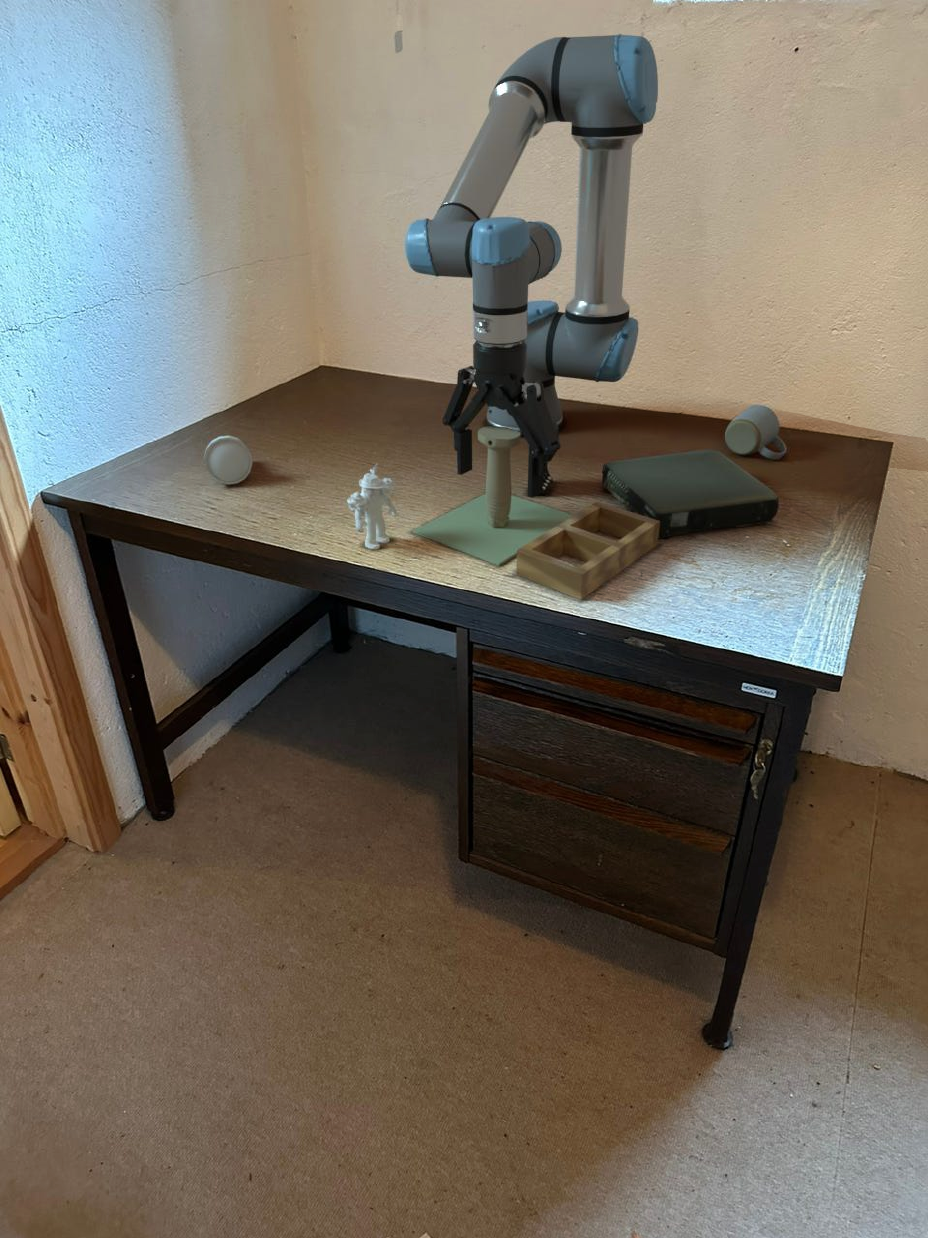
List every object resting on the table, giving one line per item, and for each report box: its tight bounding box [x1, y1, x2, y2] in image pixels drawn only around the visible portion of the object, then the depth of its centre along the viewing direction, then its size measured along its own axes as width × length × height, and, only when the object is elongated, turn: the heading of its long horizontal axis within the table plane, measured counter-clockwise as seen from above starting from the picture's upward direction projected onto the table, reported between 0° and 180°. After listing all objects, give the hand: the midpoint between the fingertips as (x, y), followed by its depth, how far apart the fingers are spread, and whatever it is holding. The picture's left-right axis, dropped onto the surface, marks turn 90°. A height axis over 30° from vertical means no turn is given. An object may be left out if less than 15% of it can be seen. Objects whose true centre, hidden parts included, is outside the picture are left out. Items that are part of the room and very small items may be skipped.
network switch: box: [601, 448, 780, 539], centre depth 138 cm, size 23×24×5 cm
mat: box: [412, 492, 575, 567], centre depth 134 cm, size 20×17×1 cm
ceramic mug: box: [724, 404, 788, 461], centre depth 156 cm, size 11×8×8 cm
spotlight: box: [203, 435, 253, 486], centre depth 152 cm, size 8×11×8 cm
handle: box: [477, 425, 521, 528], centre depth 130 cm, size 5×6×15 cm
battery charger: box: [528, 422, 560, 496], centre depth 143 cm, size 7×4×11 cm, turn 162°
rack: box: [515, 501, 660, 601], centre depth 124 cm, size 20×11×4 cm, turn 140°
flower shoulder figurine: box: [346, 461, 398, 550], centre depth 127 cm, size 9×4×12 cm, turn 144°
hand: (498, 482), depth 130 cm, fingers open, 13 cm apart
